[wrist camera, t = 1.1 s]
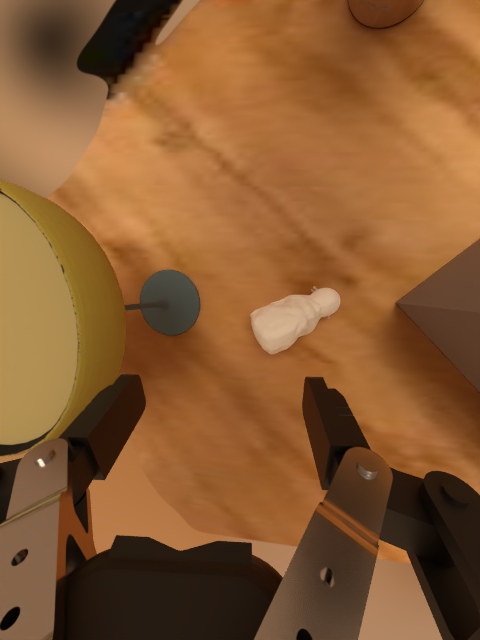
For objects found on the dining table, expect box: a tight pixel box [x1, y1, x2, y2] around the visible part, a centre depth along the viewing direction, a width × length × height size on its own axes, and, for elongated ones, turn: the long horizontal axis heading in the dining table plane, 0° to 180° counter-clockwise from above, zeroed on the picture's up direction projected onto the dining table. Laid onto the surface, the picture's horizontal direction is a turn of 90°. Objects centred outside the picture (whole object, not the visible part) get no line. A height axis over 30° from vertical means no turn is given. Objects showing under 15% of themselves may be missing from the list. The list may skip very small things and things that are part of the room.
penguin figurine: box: [250, 286, 341, 355], centre depth 30 cm, size 6×8×12 cm
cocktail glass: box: [0, 180, 200, 457], centre depth 26 cm, size 18×18×25 cm
